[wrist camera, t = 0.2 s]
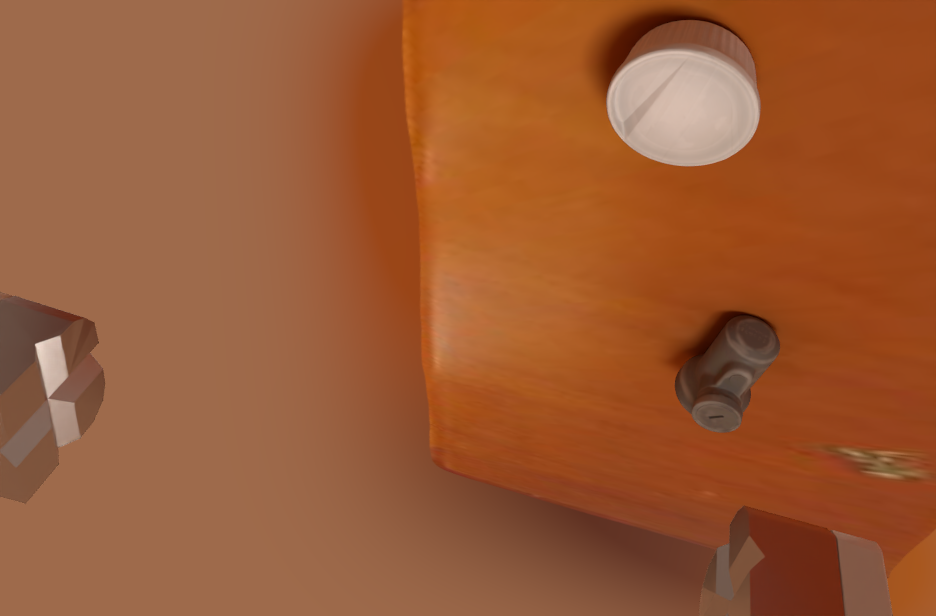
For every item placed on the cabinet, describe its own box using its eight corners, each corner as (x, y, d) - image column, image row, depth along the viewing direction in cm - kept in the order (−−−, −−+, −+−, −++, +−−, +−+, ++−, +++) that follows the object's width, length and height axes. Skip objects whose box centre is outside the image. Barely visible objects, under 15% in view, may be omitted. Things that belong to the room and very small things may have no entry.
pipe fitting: (745, 382, 100) (732, 455, 93) (680, 354, 100) (662, 425, 94) (799, 322, 90) (789, 398, 84) (727, 291, 91) (711, 365, 84)
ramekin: (614, 3, 65) (600, 49, 62) (772, 4, 62) (765, 53, 59) (622, 118, 74) (610, 162, 71) (761, 124, 70) (754, 172, 68)
